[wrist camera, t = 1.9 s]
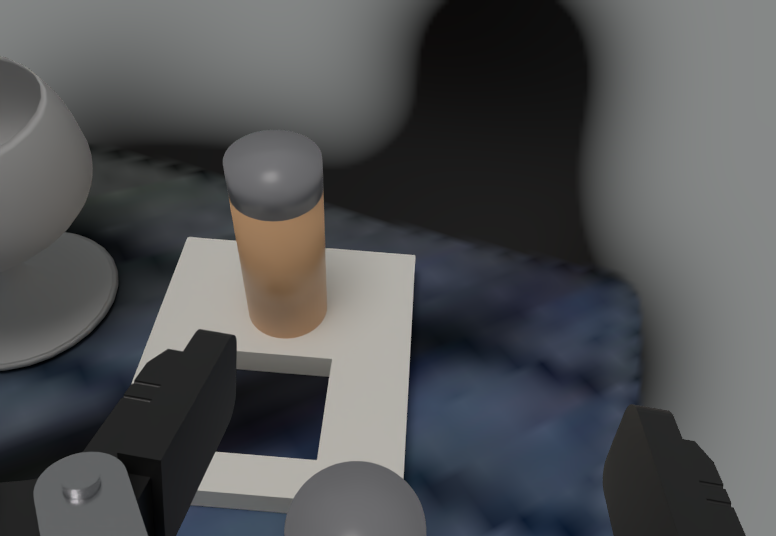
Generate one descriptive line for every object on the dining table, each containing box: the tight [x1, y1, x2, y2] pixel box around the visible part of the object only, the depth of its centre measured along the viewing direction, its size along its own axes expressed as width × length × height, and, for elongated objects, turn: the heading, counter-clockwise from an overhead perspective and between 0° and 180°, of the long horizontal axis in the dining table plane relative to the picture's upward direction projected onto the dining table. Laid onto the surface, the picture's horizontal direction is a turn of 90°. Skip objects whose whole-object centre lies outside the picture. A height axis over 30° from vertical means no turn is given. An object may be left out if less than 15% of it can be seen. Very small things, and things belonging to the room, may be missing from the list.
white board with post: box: [132, 130, 415, 513], centre depth 37 cm, size 16×18×14 cm
